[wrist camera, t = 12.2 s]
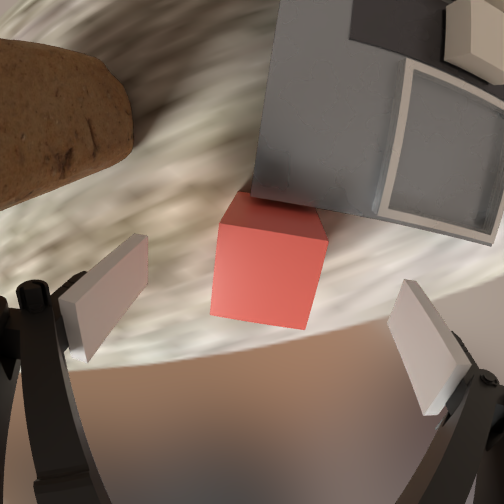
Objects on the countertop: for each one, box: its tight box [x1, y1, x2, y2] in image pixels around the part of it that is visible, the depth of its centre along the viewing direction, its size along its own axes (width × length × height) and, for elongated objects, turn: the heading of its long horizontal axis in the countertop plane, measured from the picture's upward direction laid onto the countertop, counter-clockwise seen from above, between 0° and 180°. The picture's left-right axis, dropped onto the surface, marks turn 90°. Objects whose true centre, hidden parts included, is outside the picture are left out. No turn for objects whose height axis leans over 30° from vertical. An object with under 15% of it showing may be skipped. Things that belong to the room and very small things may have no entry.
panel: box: [250, 0, 504, 247], centre depth 14 cm, size 17×21×4 cm
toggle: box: [444, 0, 504, 85], centre depth 11 cm, size 4×4×3 cm
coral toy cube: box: [210, 191, 329, 330], centre depth 18 cm, size 5×5×7 cm
